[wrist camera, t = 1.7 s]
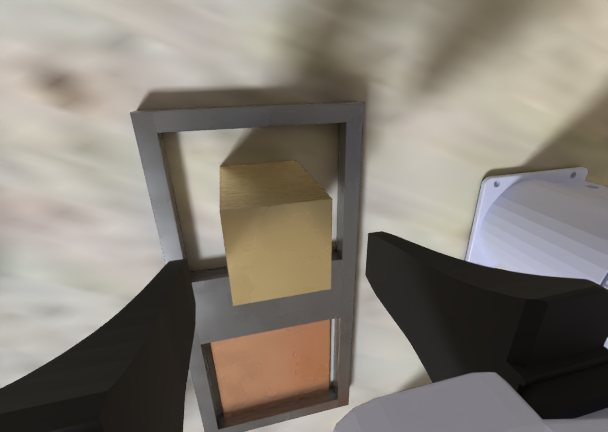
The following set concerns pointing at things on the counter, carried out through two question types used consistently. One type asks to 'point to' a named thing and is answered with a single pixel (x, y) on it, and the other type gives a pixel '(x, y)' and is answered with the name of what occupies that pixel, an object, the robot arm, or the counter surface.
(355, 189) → the gray rectangular frame
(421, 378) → the counter surface
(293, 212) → the brass block
